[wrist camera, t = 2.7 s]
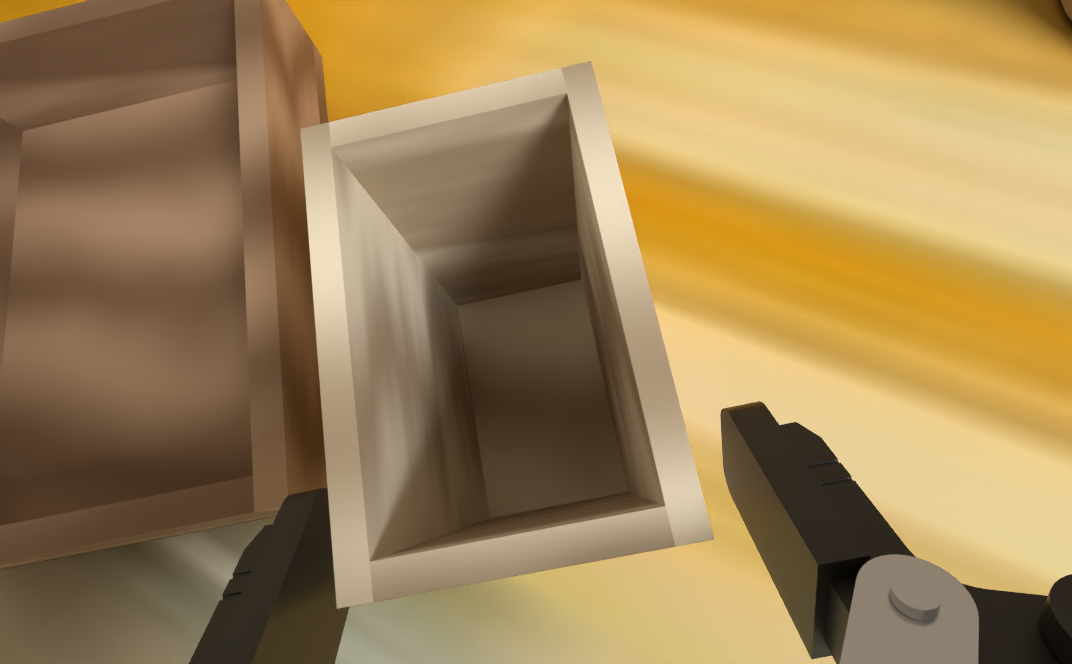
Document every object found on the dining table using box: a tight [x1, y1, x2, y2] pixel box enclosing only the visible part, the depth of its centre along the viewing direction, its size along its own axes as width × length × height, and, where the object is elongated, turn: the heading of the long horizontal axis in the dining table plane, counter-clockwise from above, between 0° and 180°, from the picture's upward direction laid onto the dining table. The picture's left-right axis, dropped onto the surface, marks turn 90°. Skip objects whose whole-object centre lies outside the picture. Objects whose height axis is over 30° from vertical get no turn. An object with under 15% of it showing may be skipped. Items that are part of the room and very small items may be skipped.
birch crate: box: [300, 61, 714, 609], centre depth 15 cm, size 9×6×11 cm, turn 11°
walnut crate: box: [0, 0, 328, 570], centre depth 21 cm, size 20×15×5 cm
